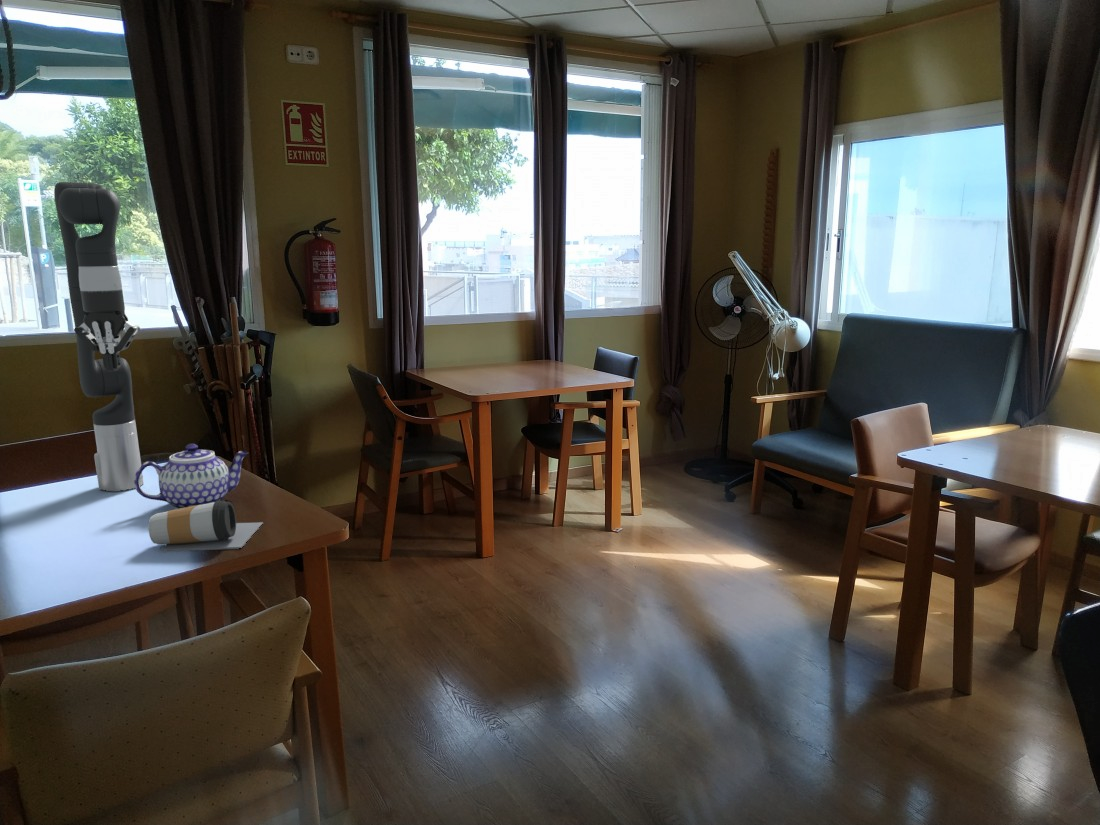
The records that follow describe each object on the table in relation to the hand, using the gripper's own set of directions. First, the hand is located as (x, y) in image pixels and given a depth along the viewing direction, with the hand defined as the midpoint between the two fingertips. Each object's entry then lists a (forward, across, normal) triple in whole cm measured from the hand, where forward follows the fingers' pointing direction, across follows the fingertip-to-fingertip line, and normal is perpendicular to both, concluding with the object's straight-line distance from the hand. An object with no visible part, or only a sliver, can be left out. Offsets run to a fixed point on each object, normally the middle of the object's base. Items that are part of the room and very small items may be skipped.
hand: (112, 370), depth 159 cm
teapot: (+35, -9, -12) cm, 38 cm away
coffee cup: (+31, -11, +14) cm, 36 cm away
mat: (+34, -21, +10) cm, 42 cm away
